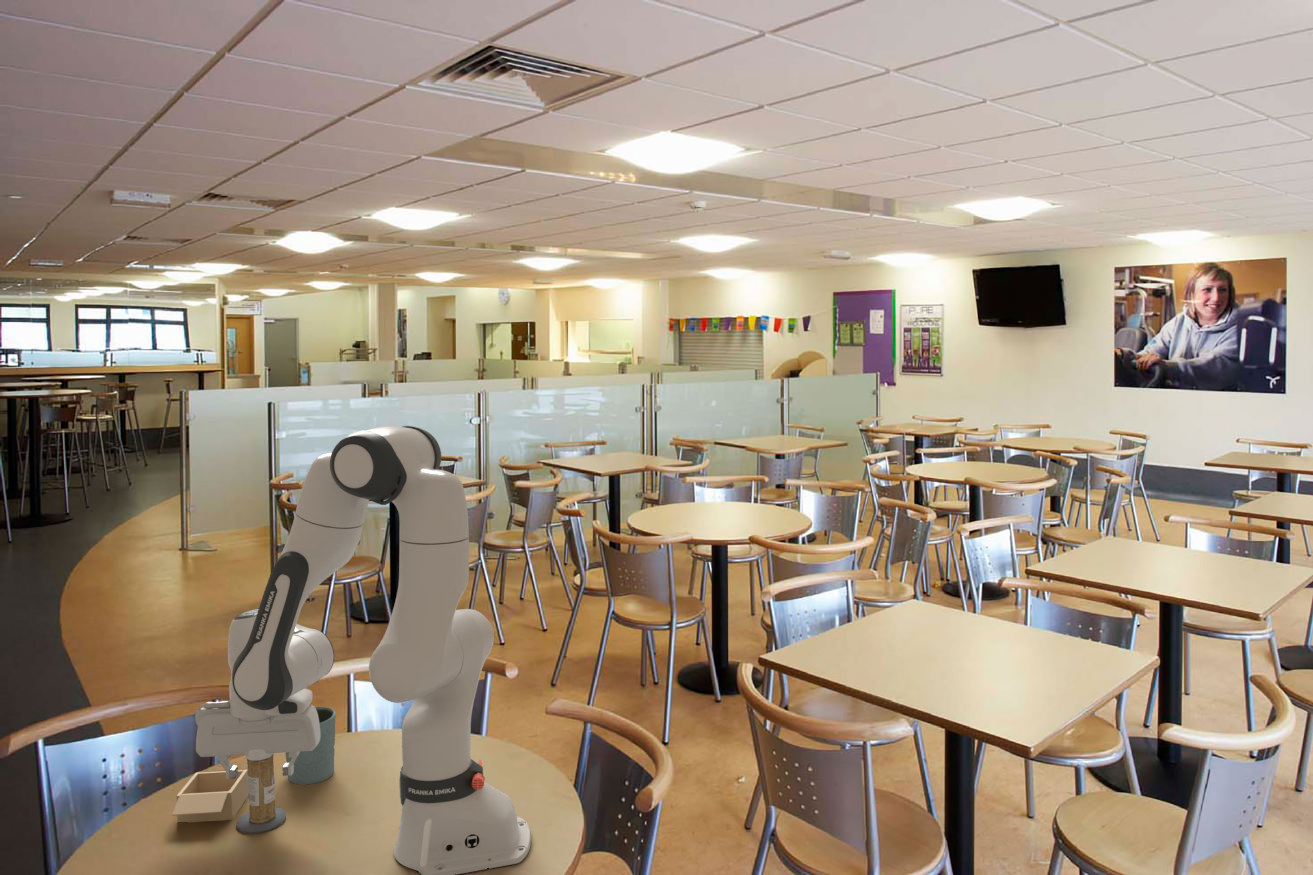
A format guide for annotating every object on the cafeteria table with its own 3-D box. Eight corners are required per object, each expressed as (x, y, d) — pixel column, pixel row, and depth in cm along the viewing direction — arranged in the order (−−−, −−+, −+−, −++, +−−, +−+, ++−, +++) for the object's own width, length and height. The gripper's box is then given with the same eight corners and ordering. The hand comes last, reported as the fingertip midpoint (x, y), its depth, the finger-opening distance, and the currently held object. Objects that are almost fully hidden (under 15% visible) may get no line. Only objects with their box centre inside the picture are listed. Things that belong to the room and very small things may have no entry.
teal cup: (305, 790, 169) (304, 729, 168) (271, 778, 174) (269, 719, 173) (348, 770, 178) (346, 711, 177) (314, 758, 183) (312, 702, 182)
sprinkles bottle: (278, 819, 157) (276, 746, 156) (250, 827, 155) (248, 752, 154) (273, 809, 161) (271, 737, 160) (246, 816, 158) (243, 743, 157)
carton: (254, 785, 171) (253, 760, 171) (225, 830, 155) (224, 801, 154) (204, 788, 170) (203, 762, 170) (169, 833, 154) (167, 805, 153)
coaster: (291, 808, 162) (291, 805, 162) (279, 831, 154) (278, 828, 154) (245, 811, 161) (245, 808, 161) (230, 834, 153) (230, 831, 153)
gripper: (187, 709, 152) (191, 787, 153) (313, 703, 154) (315, 780, 155) (201, 696, 158) (204, 771, 159) (321, 690, 161) (323, 764, 162)
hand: (260, 775), depth 157 cm, fingers open, 8 cm apart
